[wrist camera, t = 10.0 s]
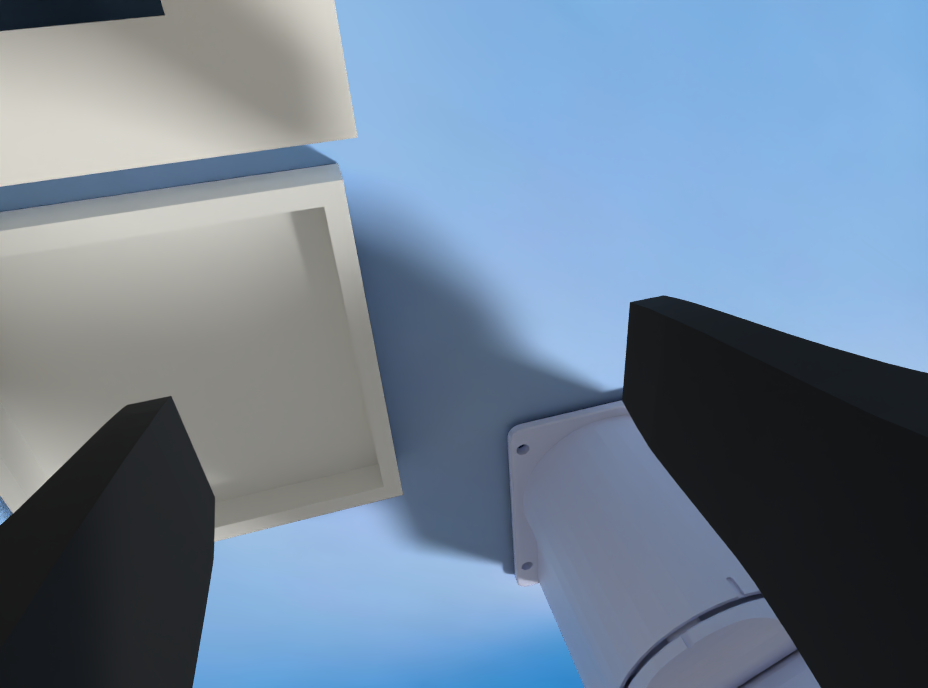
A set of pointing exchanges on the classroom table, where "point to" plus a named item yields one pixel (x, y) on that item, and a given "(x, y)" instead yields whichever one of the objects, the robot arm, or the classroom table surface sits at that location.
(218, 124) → the socket block
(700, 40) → the classroom table surface
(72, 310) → the tray
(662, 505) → the robot arm
